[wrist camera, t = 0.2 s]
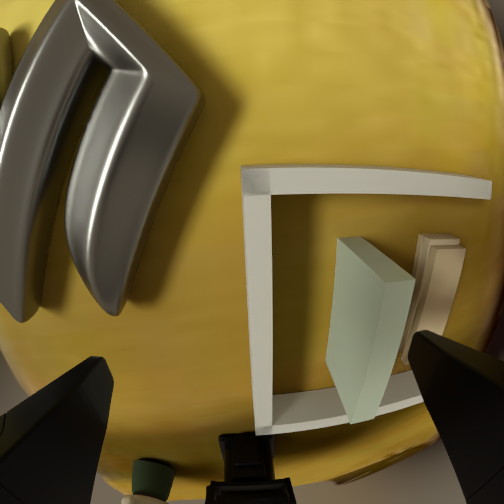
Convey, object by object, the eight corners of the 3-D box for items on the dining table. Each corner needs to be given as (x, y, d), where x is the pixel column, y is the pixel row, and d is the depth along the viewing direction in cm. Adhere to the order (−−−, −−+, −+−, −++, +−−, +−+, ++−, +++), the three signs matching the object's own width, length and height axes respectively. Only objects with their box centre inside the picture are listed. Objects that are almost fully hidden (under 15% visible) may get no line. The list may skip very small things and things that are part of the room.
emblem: (-69, 68, 8) (190, -75, 8) (-39, 70, 13) (197, -38, 13) (-33, 330, 17) (228, 332, 18) (-7, 306, 22) (229, 293, 23)
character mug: (117, 445, 30) (98, 521, 17) (164, 449, 30) (153, 533, 17) (146, 478, 33) (136, 541, 21) (187, 481, 33) (182, 548, 21)
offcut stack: (420, 341, 26) (434, 357, 23) (390, 347, 26) (403, 365, 23) (448, 232, 22) (468, 242, 19) (416, 232, 22) (436, 243, 19)
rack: (417, 376, 28) (432, 398, 24) (253, 405, 27) (255, 435, 23) (462, 174, 20) (492, 181, 16) (240, 165, 19) (242, 169, 15)
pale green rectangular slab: (344, 357, 25) (374, 418, 18) (325, 360, 25) (350, 424, 18) (360, 236, 21) (415, 279, 14) (337, 237, 21) (385, 282, 14)
